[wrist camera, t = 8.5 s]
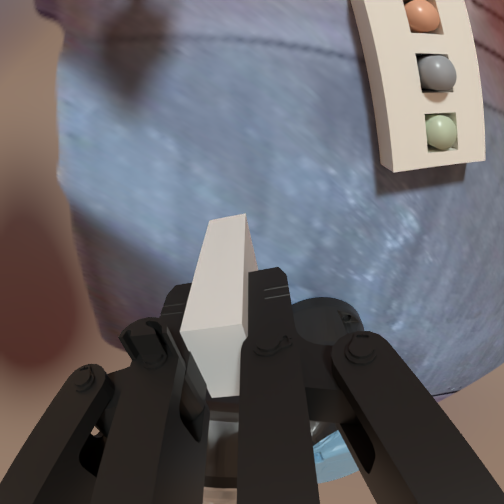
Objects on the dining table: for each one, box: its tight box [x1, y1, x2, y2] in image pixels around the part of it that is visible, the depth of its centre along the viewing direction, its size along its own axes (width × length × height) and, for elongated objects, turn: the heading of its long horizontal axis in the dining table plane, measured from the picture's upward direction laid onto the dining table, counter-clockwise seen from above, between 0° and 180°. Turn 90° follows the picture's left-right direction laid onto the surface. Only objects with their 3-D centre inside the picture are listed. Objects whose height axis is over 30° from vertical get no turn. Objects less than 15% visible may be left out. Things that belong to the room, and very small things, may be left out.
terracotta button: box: [404, 0, 440, 33], centre depth 24 cm, size 4×4×4 cm
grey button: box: [416, 56, 457, 91], centre depth 27 cm, size 4×4×4 cm
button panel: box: [350, 0, 485, 173], centre depth 28 cm, size 22×14×4 cm, turn 13°
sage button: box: [425, 113, 457, 150], centre depth 31 cm, size 4×4×4 cm
